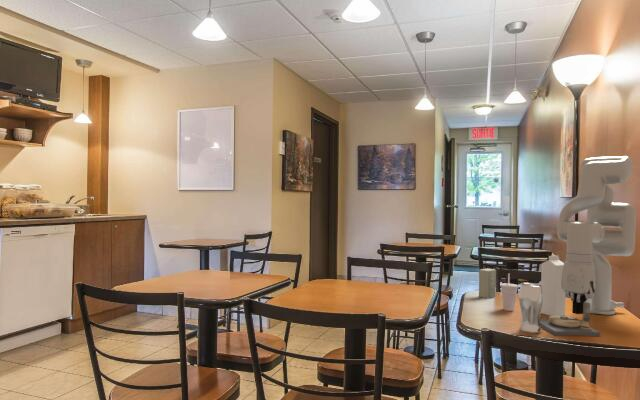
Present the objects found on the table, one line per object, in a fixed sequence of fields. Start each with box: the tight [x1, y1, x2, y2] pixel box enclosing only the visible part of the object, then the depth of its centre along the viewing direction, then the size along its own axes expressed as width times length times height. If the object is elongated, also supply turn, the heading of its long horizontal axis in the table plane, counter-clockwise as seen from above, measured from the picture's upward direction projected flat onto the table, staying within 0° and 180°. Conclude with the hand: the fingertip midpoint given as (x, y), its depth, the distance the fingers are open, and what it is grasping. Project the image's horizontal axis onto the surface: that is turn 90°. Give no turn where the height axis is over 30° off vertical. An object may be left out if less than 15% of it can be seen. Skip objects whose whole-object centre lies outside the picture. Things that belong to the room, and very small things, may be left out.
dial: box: [548, 303, 591, 327], centre depth 150 cm, size 9×11×7 cm
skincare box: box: [478, 267, 497, 299], centre depth 197 cm, size 6×4×12 cm
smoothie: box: [500, 272, 519, 312], centre depth 174 cm, size 6×6×14 cm
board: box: [540, 317, 601, 337], centre depth 149 cm, size 14×16×2 cm
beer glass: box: [518, 282, 543, 334], centre depth 146 cm, size 7×7×15 cm
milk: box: [540, 254, 566, 316], centre depth 168 cm, size 6×6×22 cm
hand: (578, 313), depth 151 cm, fingers closed
